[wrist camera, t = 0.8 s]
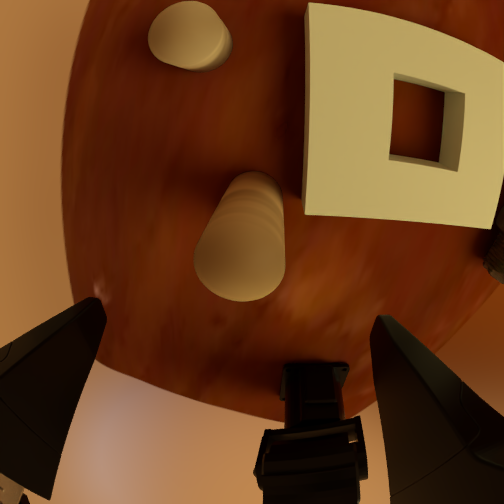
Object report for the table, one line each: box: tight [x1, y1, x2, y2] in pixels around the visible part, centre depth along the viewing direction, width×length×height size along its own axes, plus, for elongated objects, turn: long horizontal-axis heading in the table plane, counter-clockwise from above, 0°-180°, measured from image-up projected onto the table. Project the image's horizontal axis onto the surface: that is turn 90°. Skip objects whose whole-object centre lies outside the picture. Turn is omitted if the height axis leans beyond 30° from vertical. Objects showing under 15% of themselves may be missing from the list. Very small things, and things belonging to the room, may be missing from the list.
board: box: [301, 3, 504, 229], centre depth 13 cm, size 12×14×2 cm
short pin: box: [148, 1, 233, 72], centre depth 12 cm, size 4×4×4 cm
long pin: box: [194, 171, 285, 301], centre depth 15 cm, size 4×4×8 cm
